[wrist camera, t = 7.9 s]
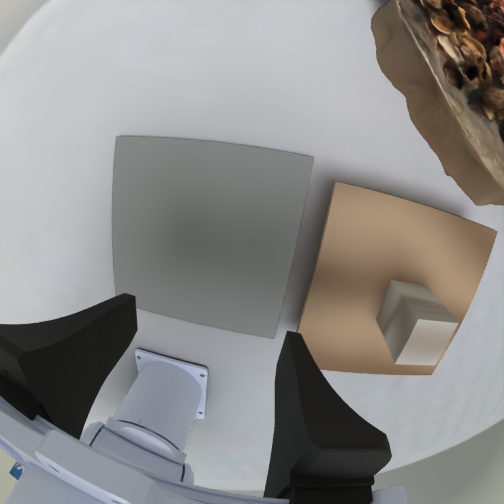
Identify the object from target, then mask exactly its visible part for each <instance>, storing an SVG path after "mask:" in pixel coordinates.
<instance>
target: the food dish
mask: <svg viewBox="0 0 504 504" xmlns="http://www.w3.org/2000/svg"><path fill="white" fill-rule="evenodd" d="M371 30H372V32H373V35H374V38H375V44H376V48H377V49H376V55H377V61H378V64H379V66H380V68H381V71H382V72H383V73H384V74H385V76H386V77H387V78H388V80H389V81H391V83H392V85H393V86H394V87H395V88H396V89H398V90H399V91H400V92H401V93H402V94H403V95H405V97H406V102H407V107H408V111H409V115H410V118H411V121H412V122H413V124H414V125H415V127H416V129H417V130H418V131H419V133H420V134H421V135H422V137H423V138H424V139H425V140H426V141H427V143H428V144H429V146H430V148H431V149H432V150H433V151H434V152H435V153H436V155H437V156H438V157H439V160H440V161H441V164H442V166H443V168H444V171H445V173H446V175H448V176H451V177H452V178H453V179H454V180H455V182H456V183H457V184H458V186H459V187H460V188H461V189H462V190H463V191H464V193H465V194H466V195H467V196H468V197H469V198H470V199H471V200H472V201H473V202H474V204H475V205H476V206H483V205H488V204H494V205H503V206H504V0H389V1H388V3H387V4H386V5H384V6H382V7H380V8H379V9H378V10H377V11H376V12H375V14H374V15H373V17H372V20H371Z"/></svg>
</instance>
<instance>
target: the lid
mask: <svg viewBox="0 0 504 504" xmlns="http://www.w3.org/2000/svg"><path fill="white" fill-rule="evenodd" d="M496 235H497V231H495V230H493V229H491V228H489V227H486V226H484V225H481V224H478V223H476V222H473V221H470V220H468V219H465V218H462V217H459V216H456V215H454V214H451V213H448V212H445V211H442V210H439V209H436V208H433V207H430V206H427V205H423V204H420V203H417V202H414V201H410V200H407V199H404V198H400V197H397V196H393V195H389V194H386V193H382V192H378V191H375V190H371V189H367V188H363V187H359V186H355V185H351V184H347V183H342V182H338V181H334V183H333V188H332V192H331V197H330V202H329V207H328V211H327V216H326V220H325V225H324V229H323V233H322V237H321V242H320V246H319V250H318V254H317V258H316V262H315V266H314V270H313V274H312V277H311V281H310V285H309V289H308V292H307V296H306V300H305V303H304V307H303V310H302V314H301V317H300V321H299V324H298V327H297V331H296V333H301V335H302V336H303V339H304V341H305V343H306V345H307V347H308V349H309V351H310V353H311V355H312V357H313V359H314V361H315V362H316V364H317V366H318V368H319V369H321V370H330V371H340V372H352V373H367V374H387V375H432V373H433V372H434V370H435V368H436V367H437V365H438V364H439V362H440V360H441V359H442V357H443V355H444V354H445V352H446V350H447V349H448V347H449V345H450V343H451V342H452V340H453V338H454V336H455V334H456V332H457V330H458V329H459V327H460V325H461V323H462V321H463V319H464V317H465V315H466V313H467V311H468V308H469V306H470V304H471V302H472V300H473V297H474V295H475V293H476V290H477V288H478V286H479V283H480V281H481V278H482V276H483V273H484V271H485V268H486V265H487V262H488V260H489V257H490V254H491V251H492V248H493V245H494V241H495V238H496Z"/></svg>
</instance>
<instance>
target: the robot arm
mask: <svg viewBox="0 0 504 504" xmlns="http://www.w3.org/2000/svg"><path fill="white" fill-rule="evenodd" d="M137 330H138V329H137V314H136V296H134V295H131V294H127V293H123V294H120V295H118V296H115V297H113V298H111V299H108V300H106V301H104V302H102V303H99V304H97V305H95V306H92V307H90V308H87V309H85V310H82V311H80V312H77V313H74V314H72V315H69V316H65V317H62V318H58V319H54V320H49V321H44V322H39V323H31V324H0V447H1V448H2V449H3V450H4V451H5V452H6V453H8V454H9V455H10V456H11V457H12V458H13V459H15V460H16V461H17V462H18V463H19V464H20V465H21V466H23V467H24V468H25V470H24V471H23V473H22V475H21V476H20V478H19V480H18V481H17V483H16V485H15V486H14V488H13V490H12V491H11V493H10V495H9V497H8V499H7V500H6V502H5V504H408V502H407V496H406V491H405V487H404V486H398V487H392V488H385V489H380V490H376V491H374V492H372V489H371V486H372V485H373V484H374V475H375V474H376V473H378V472H379V471H380V470H381V469H382V468H384V467H385V466H386V465H387V464H388V462H389V461H390V460H391V457H392V455H391V450H390V445H389V442H388V439H387V436H386V434H385V433H383V432H382V431H380V430H379V429H377V428H376V427H374V426H373V425H371V424H370V423H368V422H367V421H366V420H364V419H363V418H362V417H361V416H359V415H358V414H357V413H356V412H355V411H354V410H353V409H351V408H350V407H349V406H348V405H347V404H346V403H345V402H344V401H343V400H342V398H341V397H340V396H339V395H338V394H337V393H336V392H335V390H334V389H333V388H332V387H331V385H330V384H329V383H328V381H327V380H326V378H325V377H324V375H323V374H322V372H321V371H320V369H319V368H318V366H317V364H316V362H315V361H314V359H313V357H312V355H311V353H310V351H309V349H308V347H307V345H306V343H305V341H304V339H303V336H302V335H301V333H296V332H291V331H287V333H286V337H285V340H284V343H283V346H282V349H281V353H280V356H279V359H278V362H277V368H276V376H275V427H274V436H273V444H272V451H271V458H270V464H269V470H268V476H267V481H266V486H265V491H264V496H263V497H256V496H248V495H241V494H235V493H228V492H223V491H218V490H213V489H209V488H204V487H200V486H196V485H193V483H194V473H193V471H192V469H191V466H190V465H188V464H185V463H184V462H185V459H186V455H187V454H185V453H184V452H185V449H186V446H187V443H188V440H189V437H190V434H191V431H192V428H193V425H194V422H195V419H196V418H198V419H204V418H205V409H206V394H207V380H208V369H207V368H205V367H202V366H198V365H194V364H190V363H186V362H182V361H178V360H175V359H171V358H168V357H164V356H161V355H157V354H154V353H150V352H147V351H144V350H141V349H137V350H136V351H135V358H136V364H137V370H138V376H137V378H136V380H135V381H134V383H133V385H132V386H131V388H130V390H129V391H128V393H127V395H126V397H125V398H124V400H123V402H122V403H121V405H120V407H119V409H118V410H117V412H116V414H115V416H114V417H113V418H111V417H109V419H108V421H107V423H106V424H103V423H102V422H100V421H99V422H96V423H92V424H90V425H89V426H88V427H87V428H86V429H85V431H84V432H83V434H82V430H83V427H84V425H85V422H86V419H87V417H88V414H89V412H90V409H91V407H92V405H93V403H94V401H95V398H96V396H97V394H98V392H99V390H100V388H101V386H102V385H103V383H104V381H105V379H106V378H107V376H108V375H109V373H110V372H111V371H112V369H113V368H114V366H115V365H116V364H117V362H118V361H119V359H120V358H121V357H122V355H123V354H124V352H125V351H126V350H127V348H128V347H129V345H130V343H131V342H132V340H133V338H134V336H135V334H136V332H137ZM203 374H204V375H203ZM81 434H82V435H81Z"/></svg>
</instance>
